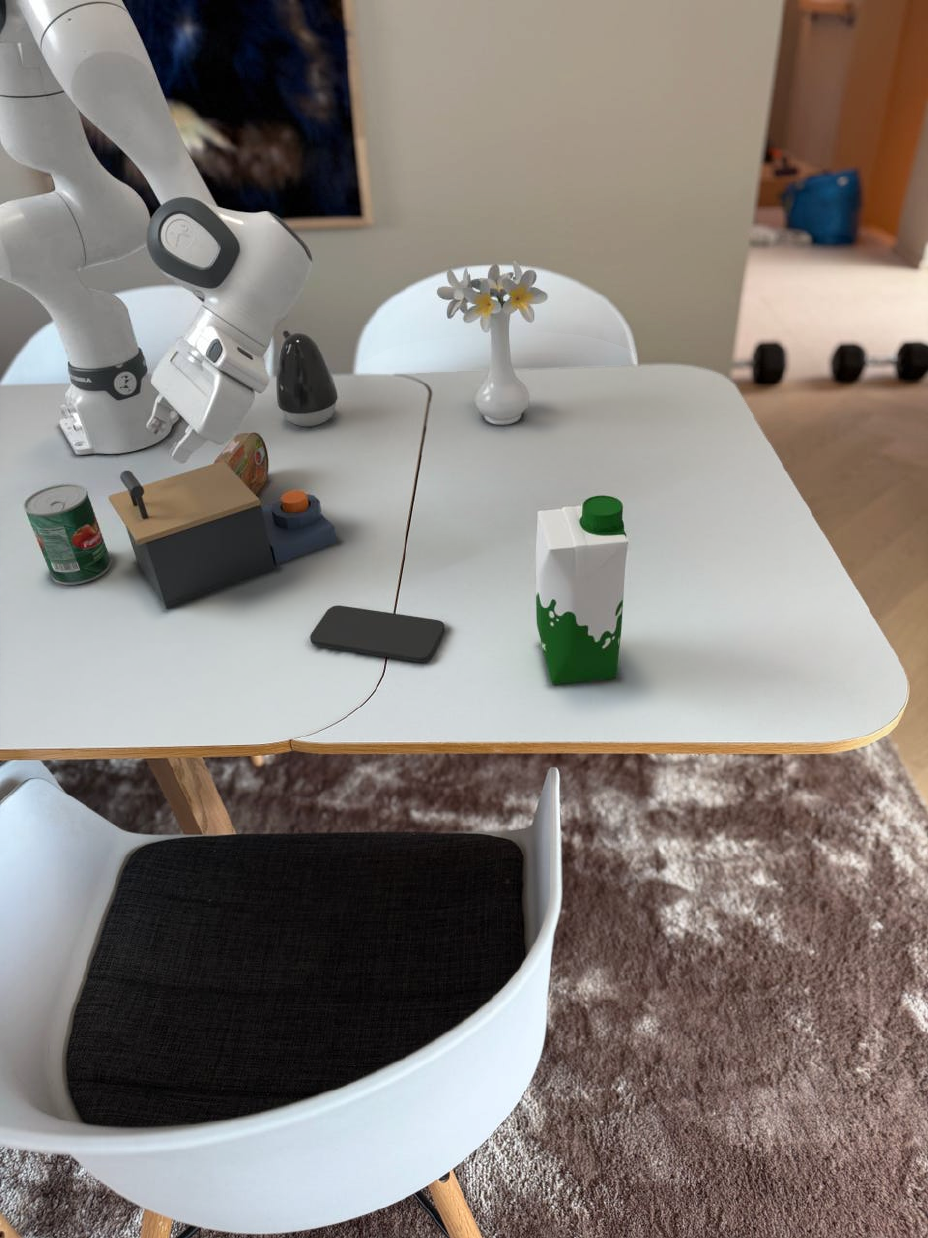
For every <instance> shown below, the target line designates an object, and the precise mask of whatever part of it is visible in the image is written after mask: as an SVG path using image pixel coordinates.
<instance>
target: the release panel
mask: <svg viewBox="0 0 928 1238" xmlns="http://www.w3.org/2000/svg"><path fill="white" fill-rule="evenodd" d="M306 494H307V498H308V503H309V508H307V509H306V510H304V511H302V512H299V513H286V512H284V511H283V508H282V503H281V497H280V498H279V499H277V500H276V501H274V502H273V503H272V504H269V505H266V506H262V507H261V508H262V513H263V517H264V522H265V526H266V531H267V535H268V540H269V544H270V549H271V553H272V558H273V562H274V564H275V565H279V564H281V563H285V562H287V561H290V560H292V559H296V558H299V557H301V556H304V555H306V554H309V553H312V552H314V551H315V552H316V551H317V550H320V549H323V548H326V547H328V546H332V545H334V544H337V537H336V531H335V526H334V525H333V524H332V523H331V522H330V521H329V520H328V519H327V518H326V517H325V516H324V515H323V513H322V507H321V506H322V505H321V501H320V500H319V499H318V498H317V497H316V495H314V494H309V493H306Z"/></svg>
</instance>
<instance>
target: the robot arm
mask: <svg viewBox="0 0 928 1238" xmlns="http://www.w3.org/2000/svg"><path fill="white" fill-rule="evenodd" d="M80 113H81V114H82V115H83V116H84V117H85V118H86V119H87V120H88V121H89V122H90V123H92V124H93V126H95V127H96V128H97V129H98V130H99V131H101V133H102V134H104V135H105V136H106V137H107V138H108V139H109V140H110V141H111V142H112V143H113V144H114V145H116V146H117V147H118V148H119V150H121V151H122V152H123V153H124V154H125V155H126V156H127V157H128V158H129V159H130V160H131V161H132V162H133V164H134V165H135V166H136V167H137V169H138V170H139V171H140V172H141V174H142V175H143V176H144V178H145V179H146V181H147V183H148V184H149V186H150V188H151V190H152V191H153V193H154V195H155V197H156V200H157V201H158V202H159V207H158V208H156V210H155V212H154V213H153V214H152V216H150V215H151V214H150V211H149V209H148V207H147V205H146V203H145V201H144V199H143V198H142V197H141V196H140V195H139V193H137V191H135V189H134V188H132V187H131V186H129V185H128V184H127V183H124V182H123V181H121V180H120V179H118V178H116V177H115V176H113V175H112V174H111V173H110V172H109V171H108V170H107V169H106V168H105V167H104V166H103V165H102V164H101V162H100V161H99V160H98V158H97V156H96V155H95V153H94V152H93V150H92V148H91V146H90V144H89V141H88V137H87V135H86V132H85V128H84V125H83V122H82V119H81V115H80ZM0 144H1V146H2V147H3V149H4V151H5V152H6V153H7V154H8V156H9V157H10V158H11V159H13V160H14V161H15V162H16V163H18V164H20V165H22V166H25V167H27V168H29V169H32V170H34V171H38V172H42V173H45V174H49V175H50V177H51V178H52V179H53V180H52V181H53V184H54V190H53V191H51V192H46V193H42V194H37V195H33V196H28V197H27V196H26V197H22V198H18V199H13V200H7V201H6V202H4V203H1V204H0V279H2V280H4V281H6V282H7V283H9V284H13V285H15V286H17V287H18V288H21V289H22V290H24V291H26V292H27V293H29V294H30V295H31V296H32V297H34V298H35V299H36V300H37V302H39V303H40V304H41V305H42V306H43V307H44V309H45V310H46V311H47V312H48V314H49V316H50V317H51V319H52V321H53V323H54V325H55V328H56V330H57V332H58V334H59V337H60V340H61V342H62V345H63V348H64V350H65V353H66V357H67V360H68V361H67V372H68V376H69V379H70V383H71V384H70V386H69V387H68V389H67V390H66V391H65V394H64V398H65V401H66V403H64V404H62V405H59V409H60V412H61V415H62V417H63V418H61V419H60V420H59V426H60V429H61V430H62V433H63V434H64V436H65V437H66V440H67V441H68V443H69V445H70V446H71V448H72V450H73V451H74V454H76V455H79V456H83V455H92V454H106V455H115V454H124V453H131V452H135V451H139V450H142V449H145V448H148V447H151V446H153V445H156V444H157V443H159V442H161V441H162V440H164V439H165V438H166V437H167V436H168V435H169V434H170V432H171V431H172V427H173V426H174V425H175V424H176V423H177V422H178V421H179V420H180V417H181V418H182V419H183V420H184V421H185V422H186V423H187V424H188V425H187V428H186V429H185V431H184V433H185V435H184V436H183V437H182V438H181V439H180V440H179V441H175V442H174V443H173V445H172V446H171V448H170V449H169V452H168V453H169V455H170V457H171V458H172V460H174V461H175V462H178V463H179V464H182V465H184V464H186V463H187V462H188V460H189V459H190V457H191V455H192V454H193V453H194V452H195V451H197V450H198V449H199V448H201V447H202V446H203V445H204V444H205V443H206V441H207V440H208V441H211V442H212V443H214V444H215V445H219V446H221V445H224V444H225V443H226V442H228V441H230V439H231V438H232V437H233V436H234V434H236V432H237V431H238V429H239V427H240V426H241V424H242V423H243V421H244V419H246V416H247V415H248V414H249V412H250V410H251V408H252V406H253V404H254V402H255V400H256V399H255V398H256V393H258V394H262V393H263V392H265V390H266V389H267V387H268V385H269V383H270V376H269V373H268V370H267V367H266V362H265V357H264V356H265V354H266V352H267V351H268V349H269V347H270V345H271V342H272V337H273V335H274V333H275V331H276V330H277V328H278V326H280V324H281V323H282V322H284V321H285V320H286V319H287V318H288V316H289V314H290V312H291V311H292V309H293V308H294V306H295V304H296V302H297V301H298V299H299V297H300V296H301V293H302V291H303V289H304V287H305V285H306V283H307V281H308V279H309V276H310V273H311V271H312V267H313V257H312V253H311V250H310V248H309V247H308V245H307V244H306V243H305V241H303V239H301V237H300V236H299V235H298V234H297V233H296V232H295V231H294V230H293V229H292V227H290V226H289V225H288V224H287V223H286V222H285V221H284V220H283V219H281V217H280V216H278V215H277V214H275V213H273V212H271V211H268V210H265V211H264V210H263V211H258V212H245V211H238V210H232V209H227V208H223V207H220V206H219V205H218V202H217V201H216V200H215V198H214V196H213V194H212V192H211V190H210V189H209V187H208V185H207V184H206V183H207V182H206V181H205V180H204V178H203V176H202V174H201V172H200V170H199V168H198V167H197V164H196V163H195V161H194V160H193V157H192V156H191V154H190V152H189V150H188V148H187V146H186V144H185V143H184V140H183V138H182V137H181V134H180V132H179V129H178V127H177V124H176V122H175V119H174V116H173V114H172V112H171V109H170V107H169V104H168V102H167V99H166V97H165V95H164V92H163V89H162V87H161V84H160V82H159V80H158V77H157V74H156V72H155V69H154V66H153V64H152V61H151V59H150V56H149V53H148V51H147V49H146V46H145V44H144V41H143V39H142V37H141V36H140V33H139V31H138V29H137V27H136V25H135V23H134V21H133V19H132V17H131V15H130V13H129V11H128V9H127V7H126V6H125V3H124V2H123V0H0ZM146 246H147V250H148V253H149V256H150V258H151V260H152V261H153V263H154V264H155V265H156V267H157V268H158V269H159V270H160V271H161V272H162V274H163V275H165V276H166V277H167V278H168V279H170V280H171V281H173V282H175V283H176V284H177V285H178V286H180V287H182V288H183V289H185V290H187V291H188V292H189V293H191V294H193V296H195V297H196V298H197V299H198V300H199V301H201V302H202V303H201V306H200V307H199V309H198V311H197V313H196V314H195V315H194V318H193V319H192V321H191V323H190V324H189V326H188V327H187V330H186V331H185V333H184V334H183V336H179V337H177V338H176V339H175V340H174V342H172V344H170V347H169V348H168V350H167V351H166V352H165V354H164V355H163V357H162V358H161V360H160V361H159V362H158V364H157V366H156V367H155V369H154V370H153V372H152V374H151V373H149V372H148V370H149V369H148V366H147V360H146V357H145V354H144V352H143V349H142V348H141V347H139V345H138V341H137V337H136V335H135V330H134V327H133V323H132V319H131V315H130V312H129V308H128V307H127V305H126V304H125V302H124V301H123V300H122V299H121V298H120V297H119V296H117V295H115V294H114V293H111V292H108V291H105V290H102V289H98V288H94V287H88V286H86V285H85V284H84V283H83V281H82V279H81V274H80V271H82V270H83V269H88V268H91V267H94V266H99V265H104V264H107V263H112V262H116V261H119V260H122V259H124V258H126V257H128V256H130V255H132V254H134V253H136V252H137V251H140V250H142V249H143V248H145V247H146ZM255 392H256V393H255ZM179 415H180V416H179Z"/></svg>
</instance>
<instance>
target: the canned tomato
mask: <svg viewBox="0 0 928 1238" xmlns="http://www.w3.org/2000/svg"><path fill="white" fill-rule="evenodd" d="M88 493H89V492H88V491H87V489H86V487H85V486H83V485H80V484H76V483H62V484H54V485H51V486H47V487H45V488H42V489H40V490H37V491H36V492H34V493H32V494H31V495H29V496H28V497H27V498H26V499H25V500H24V503H23V509H24V512H25V513H26V515H27V518H28V521H29V523H30V526H31V528H32V531H33V533H34V536H35V538H36V541H37V543H38V547H39V549H40V551H41V553H42V556H43V558H44V561H45V563H46V566H47V568H48V571H49V572H50V577H51V579H52V581H54V583H57V584H59V585H64V586H75V585H82V584H86V583H89V582H91V581H94V580H96V579H98V578H100V577H102V576H103V575H104V574H106V573H107V572H108V570H109V569H110V567H112V559H111V556H110V553H109V551H108V548H107V545H106V543H105V539H104V537H103V533H102V531H101V528H100V525H99V522H98V520H97V519H98V518H97V517H96V513H95V511H94V507H93V506H92V502H91V500H90V499H91V498H90V497H89V494H88Z"/></svg>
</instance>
